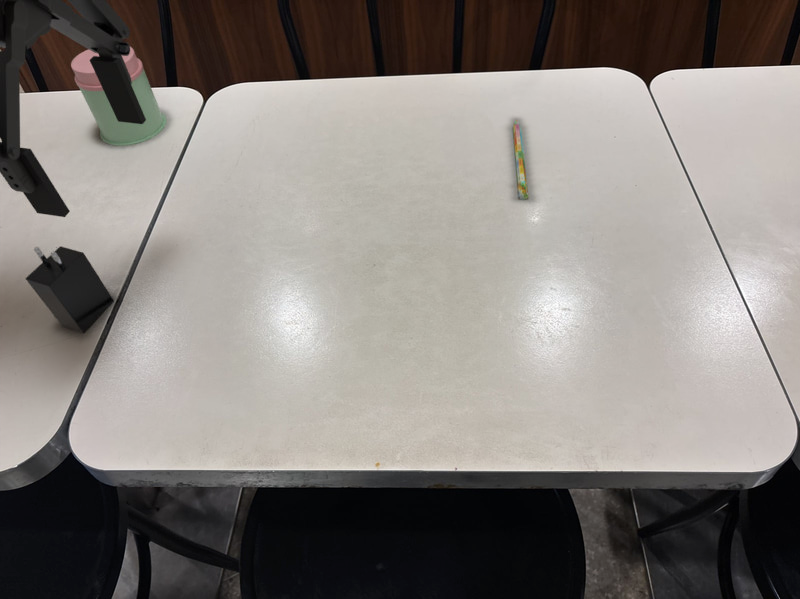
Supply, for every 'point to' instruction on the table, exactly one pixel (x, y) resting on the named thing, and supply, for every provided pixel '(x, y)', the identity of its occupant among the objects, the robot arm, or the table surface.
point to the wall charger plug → (70, 288)
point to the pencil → (520, 162)
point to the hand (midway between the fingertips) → (96, 163)
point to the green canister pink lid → (102, 109)
